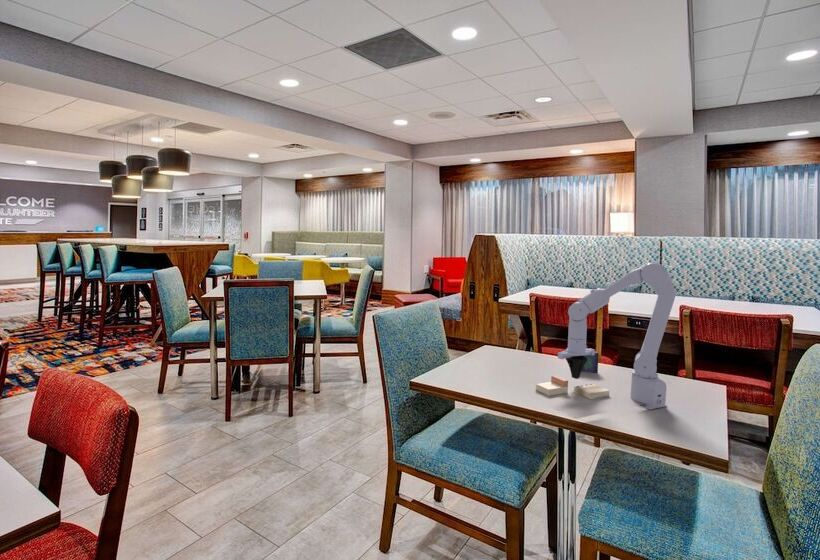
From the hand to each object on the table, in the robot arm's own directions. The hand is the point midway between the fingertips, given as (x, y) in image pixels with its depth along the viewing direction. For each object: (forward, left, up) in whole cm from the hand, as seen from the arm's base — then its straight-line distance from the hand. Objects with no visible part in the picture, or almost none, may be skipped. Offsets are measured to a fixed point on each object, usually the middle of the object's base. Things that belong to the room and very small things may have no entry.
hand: (575, 377), depth 154 cm
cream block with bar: (0, +10, -3) cm, 11 cm away
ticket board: (-3, +4, -5) cm, 7 cm away
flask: (+14, -18, -5) cm, 23 cm away
